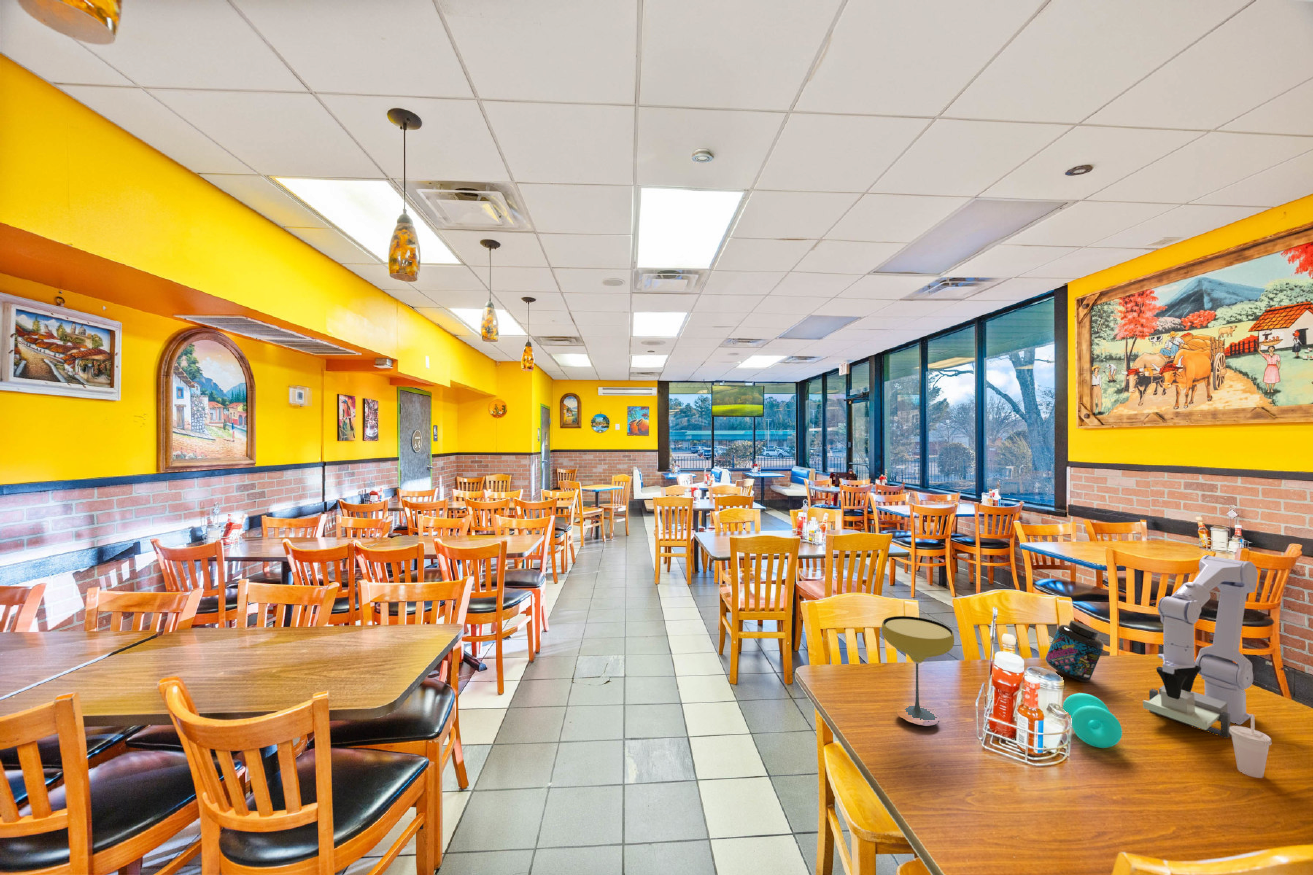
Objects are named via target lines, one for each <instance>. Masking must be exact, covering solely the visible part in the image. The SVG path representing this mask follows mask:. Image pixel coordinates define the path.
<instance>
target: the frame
mask: <svg viewBox="0 0 1313 875" xmlns="http://www.w3.org/2000/svg"><path fill="white" fill-rule="evenodd" d="M1148 694H1149V696H1148V698H1149V700H1151V699H1152V698H1154V697H1155V696H1156V695H1158V694H1159V689H1158V690H1157V689H1154V688H1151V689H1149V693H1148ZM1149 700H1148V701H1149ZM1149 712H1150V713H1152V714H1155V715H1158V716H1161V717H1164V718H1166V719H1169V720H1171V721H1175V722H1178V723H1180V724H1182V725H1183V724H1184V725H1186V726H1189V727H1191V726H1193V725H1190V724H1187V723H1184V722H1181V721H1179V720H1176V719H1173V718H1170V717H1167V716H1164V715H1162V714H1159V713H1156V712H1153V711H1150V710H1148V713H1149ZM1230 726H1231V722H1230V714H1229V713H1226V712H1223V713H1221V722H1220V729H1218V728H1215V727H1212V726H1210V727H1209V728H1208V729H1207V730H1205V731H1209V732H1211V733H1214V734H1218V735H1220V736H1219V737H1221V736H1222V737H1221V738H1224V737H1226V738H1225V739H1227V738H1228V737H1229V738H1230V737H1232V734H1230V732H1229V727H1230ZM1194 727H1195V726H1193V727H1192V728H1194ZM1197 728H1198V727H1195V729H1197ZM1200 729H1201V728H1200ZM1200 729H1199V730H1200ZM1203 730H1204V729H1203ZM1205 731H1204V732H1205ZM1211 733H1210V734H1211ZM1214 734H1213V735H1214ZM1229 738H1228V739H1229Z"/></svg>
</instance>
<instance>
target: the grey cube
mask: <svg viewBox="0 0 1313 875" xmlns="http://www.w3.org/2000/svg"><path fill="white" fill-rule="evenodd" d="M1161 706H1163V707H1166V708H1169V709H1172V710H1175V711H1178V712H1181V713H1184V714H1187V715H1190V716H1191V715H1192V714H1193V713H1194V712H1195V698H1194V693H1191V692H1188V691H1185V690H1181V695H1180V698H1179V699H1174V698H1171V697H1168V696H1167V693H1166V690H1165V688H1164V689H1163V690H1161Z"/></svg>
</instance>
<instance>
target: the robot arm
mask: <svg viewBox="0 0 1313 875" xmlns="http://www.w3.org/2000/svg"><path fill="white" fill-rule="evenodd" d="M1198 568H1199V570H1198V571H1199V573H1198V574H1197V575H1196V577H1195V578H1194V580H1193V581H1192V582H1189V581H1188V582H1184V583H1183V584H1182V585H1181V586H1180V587H1178V589H1177V590H1176V591H1175V592H1174V593H1172V594H1171V596H1169V595H1167V596H1165V597H1164V596H1163V597H1161V598H1160V599H1159V601H1158V604H1157V605H1158V606H1157V612H1158V614H1159V616H1160V622H1161V623H1162V624H1163V627H1162V628H1163V630H1162V631H1163V653H1158V654H1157V658H1159V659H1162V662H1163V663H1162V666H1157V667H1156V668H1155V669H1156V672H1157V674H1158V676H1159V677H1160V678H1161V681H1162V683H1163V685H1164V686H1165V690H1166V693H1167V696H1168V697H1171V698H1174V699H1179V698H1180V695H1181V690H1185V691H1188V692H1191V691H1192V689H1193V686H1194V683H1195V679H1196V677H1197V676H1198V675H1200V676H1201V680H1204V695H1205V696H1208V697H1211V698H1214V699H1218V700H1221V701H1224V702H1227V709H1228V713H1229V714H1230V723H1233V724H1235V723H1236V724H1235V725H1237V726H1241V725H1242V724H1244V723H1245V722H1246V721H1248V720H1249V719H1251V713H1247V698H1246V697H1247V693H1246V691H1245V690H1247V689H1249V688H1250V687H1251V686H1252V684H1253V683H1254V673H1253V663H1252V662H1251V660H1250V659H1248V658H1247V657H1246V656H1245V655H1244V654H1243V653H1241V652H1240V651H1239V650H1240V643H1241V637H1242V629H1243V621H1244V617H1245V616H1244V614H1245V609H1246V600H1247V596H1248V595H1247V594H1249V593H1255V592H1256V588H1257V583H1258V575H1259V571H1258V570H1257V566H1256V565H1255V564H1254V563H1253V562H1252V561H1249V560H1248V561H1246V560H1245V561H1244V560H1238V559H1232V558H1226V557H1225V558H1224V557H1219V556H1212V555H1209V554H1206V555H1203V556H1202V557H1201V558H1200V560H1199V562H1198ZM1214 588H1215V589H1216V588H1217V589H1218V591H1219V598H1218V607H1217V613H1216V619H1215V625H1214V626H1215V627H1214V633H1213V640H1212V641H1213V642H1212V644H1211V645H1209V646H1205V647H1202V648H1200V649H1199V652H1198V655H1197V657H1196V659H1195V624H1196V623H1197V622H1198V621H1199V618H1200V614H1201V613H1202V607H1204V606H1205V605H1206V603H1207V602H1208V601H1209V600H1210V599H1211V596H1212V595H1211V591H1212V590H1213V589H1214Z"/></svg>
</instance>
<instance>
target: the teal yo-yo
mask: <svg viewBox="0 0 1313 875" xmlns="http://www.w3.org/2000/svg"><path fill="white" fill-rule="evenodd" d="M1063 709H1064V710H1065V711H1066V712H1068V713H1069V715H1071V718H1072V725H1071V727H1072V730H1073V732H1074V734H1076V736H1077V737H1078V738H1079V739H1080V740H1081V741H1083V742H1084V743H1085V744H1088V745H1089V746H1091V747H1094V748H1099V749H1100V748H1101V749H1105V748H1107V749H1108V748H1111V747H1114V746H1115V745H1118V743H1119V742H1120V741H1121V739H1122V736H1123V729H1122V725H1121V723H1120V721H1119V720H1118V718H1116V716H1115V715H1114V714H1113V713H1112V712H1110V710H1109V707H1108V706H1107V705H1106V704H1105V703H1104V701H1102V700H1101V699H1100V698H1098V697H1096V696H1095V695H1092V694H1088V693H1082V692H1078V693H1073V694H1070V695H1069V696H1067V697H1066V699H1065V700H1064V701H1063V703H1062V710H1063Z"/></svg>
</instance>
